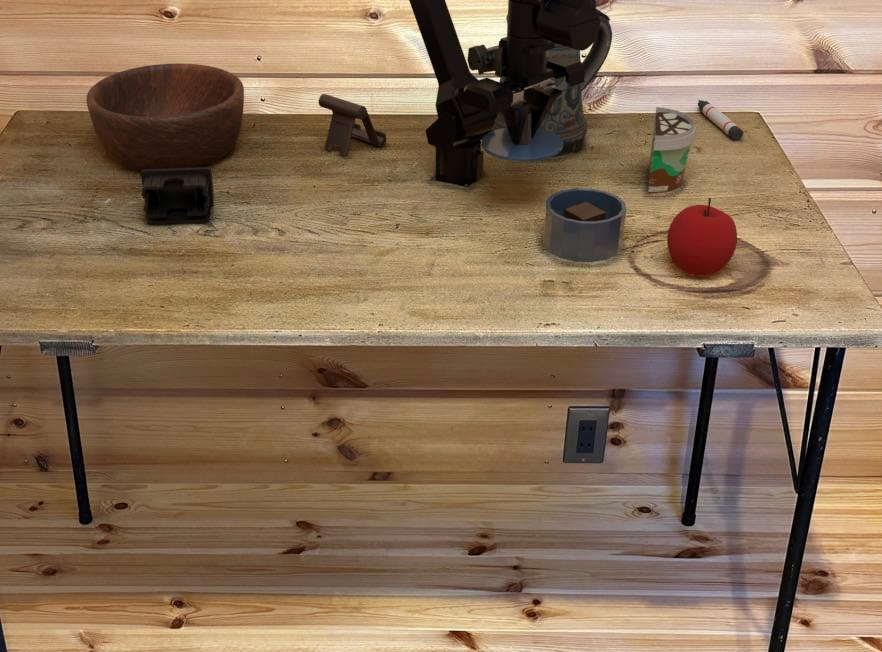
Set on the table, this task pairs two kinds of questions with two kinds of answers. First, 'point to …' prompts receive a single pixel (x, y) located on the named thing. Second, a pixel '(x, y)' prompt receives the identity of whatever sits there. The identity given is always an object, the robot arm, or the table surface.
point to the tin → (584, 226)
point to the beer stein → (572, 92)
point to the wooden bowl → (167, 115)
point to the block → (584, 213)
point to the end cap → (177, 195)
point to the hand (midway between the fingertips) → (522, 140)
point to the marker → (720, 120)
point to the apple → (701, 240)
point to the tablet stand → (349, 124)
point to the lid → (523, 144)
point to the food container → (669, 149)
